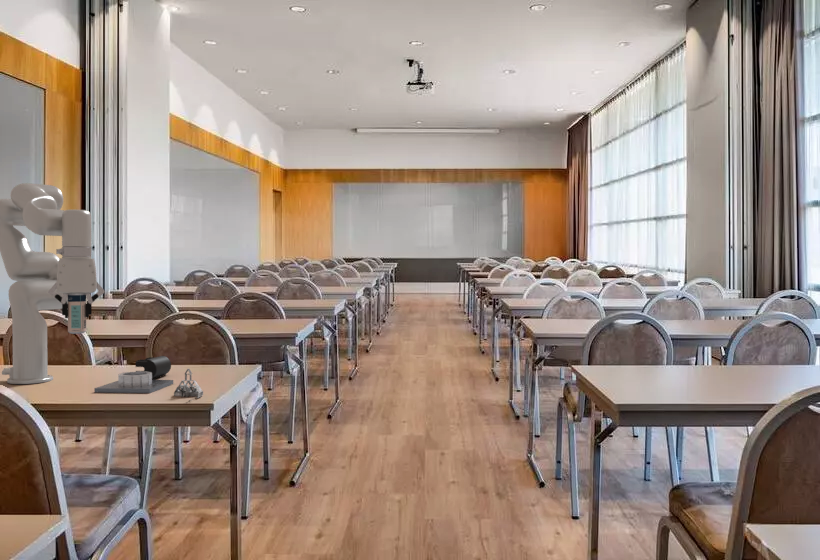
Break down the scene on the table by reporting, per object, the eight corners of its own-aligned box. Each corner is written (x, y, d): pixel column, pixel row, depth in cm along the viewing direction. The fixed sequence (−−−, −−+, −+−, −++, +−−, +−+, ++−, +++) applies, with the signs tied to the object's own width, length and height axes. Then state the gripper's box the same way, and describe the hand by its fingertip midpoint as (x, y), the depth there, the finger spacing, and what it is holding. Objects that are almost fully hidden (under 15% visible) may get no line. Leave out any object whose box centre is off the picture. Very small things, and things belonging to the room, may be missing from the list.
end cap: (156, 381, 217) (156, 359, 217) (134, 381, 218) (134, 359, 218) (171, 376, 227) (171, 355, 227) (150, 376, 228) (150, 355, 228)
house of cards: (158, 400, 187) (158, 371, 187) (173, 394, 195) (173, 367, 195) (191, 401, 186) (191, 372, 186) (204, 395, 194) (204, 367, 194)
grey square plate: (94, 392, 197) (94, 377, 197) (122, 383, 213) (122, 369, 213) (149, 393, 196) (149, 378, 195) (173, 383, 212) (173, 370, 211)
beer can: (81, 331, 202) (81, 290, 202) (89, 333, 199) (89, 290, 199) (64, 333, 199) (64, 290, 198) (72, 334, 196) (71, 291, 195)
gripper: (42, 252, 192) (42, 319, 192) (109, 253, 199) (110, 317, 199) (43, 253, 198) (43, 317, 199) (108, 254, 206) (108, 316, 206)
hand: (76, 317), depth 199 cm, fingers closed on beer can, 4 cm apart
